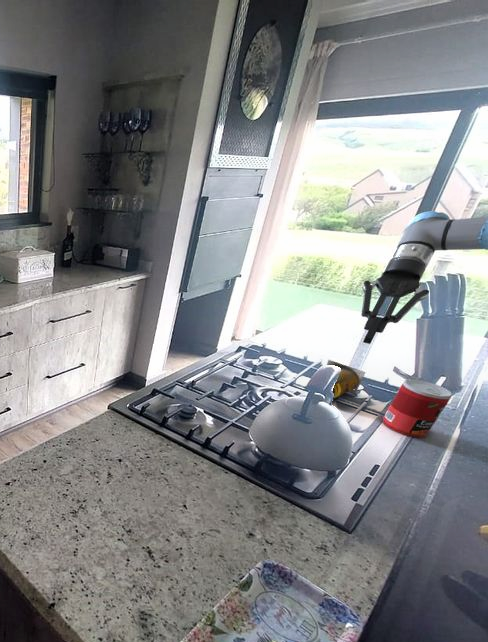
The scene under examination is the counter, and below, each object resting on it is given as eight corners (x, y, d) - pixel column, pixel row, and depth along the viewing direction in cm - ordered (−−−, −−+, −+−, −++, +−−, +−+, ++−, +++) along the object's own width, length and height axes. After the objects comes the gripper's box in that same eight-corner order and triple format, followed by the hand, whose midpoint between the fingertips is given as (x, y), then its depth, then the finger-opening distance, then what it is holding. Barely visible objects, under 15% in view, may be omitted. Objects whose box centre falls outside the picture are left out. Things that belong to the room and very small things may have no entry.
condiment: (354, 395, 108) (330, 408, 103) (319, 382, 114) (295, 393, 110) (366, 372, 104) (341, 383, 99) (329, 359, 111) (304, 369, 106)
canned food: (415, 441, 90) (442, 399, 85) (373, 422, 97) (396, 382, 91) (433, 433, 93) (460, 392, 88) (391, 415, 99) (414, 376, 94)
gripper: (377, 253, 107) (338, 326, 105) (446, 261, 99) (405, 341, 96) (371, 270, 113) (334, 340, 110) (436, 279, 104) (397, 355, 102)
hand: (367, 340), depth 103 cm, fingers closed
